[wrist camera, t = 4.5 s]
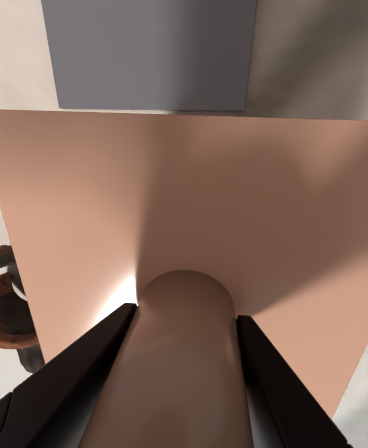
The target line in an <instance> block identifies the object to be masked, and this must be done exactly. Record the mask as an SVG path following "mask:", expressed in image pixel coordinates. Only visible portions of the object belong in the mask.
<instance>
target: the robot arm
mask: <svg viewBox="0 0 368 448" xmlns="http://www.w3.org/2000/svg"><path fill="white" fill-rule="evenodd" d="M137 307H138V306H137V304H136V303H130V302H125V303H123V304H122V305H120V306H119V307H118V308H116V309H115V310H114V311H113V312H111V313H110V314H109V315H108V316H106V317H105V318H104V319H102V320H101V321H100V322H99V323H97V324H96V325H95V326H94V327H92V328H91V329H90V330H88V331H87V332H86V333H85V334H83V335H82V336H81V337H79V338H78V339H77V340H76V341H74V342H73V343H72V344H71V345H69V346H68V347H67V348H65V349H64V350H63V351H62V352H60V353H59V354H58V355H57V356H55V357H54V358H53V359H51V360H50V361H49V362H48V363H46V364H45V365H44V366H42V367H41V368H40V369H39V370H37V371H36V372H35V373H34V374H32V375H31V376H30V377H28V378H27V379H26V380H25V381H23V382H22V383H21V384H20V385H18V386H17V387H16V388H14V390H13V392H9V393H8V394H7V395H5V396H4V397H3V398H1V399H0V448H77V447H78V445H79V443H80V440H81V438H82V436H83V433H84V431H85V429H86V426H87V424H88V422H89V419H90V417H91V414H92V412H93V410H94V407H95V405H96V403H97V400H98V398H99V396H100V393H101V391H102V389H103V386H104V384H105V382H106V379H107V377H108V375H109V372H110V370H111V368H112V365H113V363H114V361H115V358H116V356H117V354H118V351H119V349H120V347H121V344H122V342H123V340H124V337H125V335H126V333H127V330H128V328H129V326H130V323H131V321H132V319H133V316H134V314H135V312H136V309H137ZM236 322H237V329H238V336H239V343H240V350H241V357H242V365H243V372H244V379H245V386H246V393H247V400H248V407H249V415H250V422H251V429H252V436H253V443H254V448H353V446H352V445H351V444H348V442H347V439H346V438H345V436H344V435H343V434H342V433H341V431H340V430H339V429H338V427H337V426H336V425H335V424H334V422H333V421H332V420H331V418H330V417H329V416H328V415H327V413H326V412H325V411H324V409H323V408H322V407H321V405H320V404H319V403H318V402H317V400H316V399H315V398H314V396H313V395H312V394H311V393H310V391H309V390H308V389H307V387H306V386H305V385H304V384H303V382H302V381H301V380H300V378H299V377H298V376H297V375H296V373H295V372H294V371H293V369H292V368H291V367H290V366H289V364H288V363H287V362H286V360H285V359H284V358H283V357H282V355H281V354H280V353H279V351H278V350H277V349H276V348H275V346H274V345H273V344H272V342H271V341H270V340H269V339H268V337H267V336H266V335H265V333H264V332H263V331H262V330H261V328H260V327H259V326H258V324H257V323H256V322H255V321H254V319H253V318H252V317H251V316H249V315H241V314H239V315H237V318H236Z"/></svg>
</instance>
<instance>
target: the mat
mask: <svg viewBox="0 0 368 448" xmlns="http://www.w3.org/2000/svg"><path fill="white" fill-rule="evenodd" d="M256 2H257V0H41V3H42V9H43V15H44V20H45V26H46V32H47V38H48V44H49V50H50V56H51V62H52V68H53V74H54V80H55V86H56V92H57V98H58V104H59V108H62V109H105V110H185V111H244V110H245V101H246V92H247V83H248V74H249V65H250V56H251V47H252V38H253V29H254V20H255V11H256Z"/></svg>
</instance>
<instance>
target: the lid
mask: <svg viewBox="0 0 368 448" xmlns="http://www.w3.org/2000/svg"><path fill="white" fill-rule="evenodd" d="M0 208H1V211H2V215H3V218H4V222H5V225H6V228H7V232H8V235H9V239H10V242H11V246H12V249H13V253H14V256H15V260H16V263H17V267H18V270H19V274H20V277H21V281H22V284H23V287H24V291H25V294H26V298H27V301H28V305H29V308H30V312H31V315H32V319H33V322H34V326H35V329H36V333H37V336H38V340H39V343H40V346H41V350H42V353H43V357H44V360H45V364H46V363H48V362H49V361H50V360H51V359H53V358H54V357H55V356H57V355H58V354H59V353H60V352H62V351H63V350H64V349H65V348H67V347H68V346H69V345H71V344H72V343H73V342H74V341H76V340H77V339H78V338H79V337H81V336H82V335H83V334H85V333H86V332H87V331H88V330H90V329H91V328H92V327H94V326H95V325H96V324H97V323H99V322H100V321H101V320H102V319H104V318H105V317H106V316H108V315H109V314H110V313H111V312H113V311H114V310H115V309H116V308H118V307H119V306H120V305H122V304H123V303H125V302H130V303H136V304H137V306H138V307H137V309H136V312H135V314H134V316H133V319H132V321H131V323H130V326H129V328H128V330H127V333H126V335H125V337H124V340H123V342H122V344H121V347H120V349H119V351H118V354H117V356H116V358H115V361H114V363H113V365H112V368H111V370H110V372H109V375H108V377H107V379H106V382H105V384H104V386H103V389H102V391H101V393H100V396H99V398H98V400H97V403H96V405H95V407H94V410H93V412H92V414H91V417H90V419H89V422H88V424H87V426H86V429H85V431H84V433H83V436H82V438H81V440H80V443H79V445H78V447H77V448H254V443H253V436H252V429H251V422H250V415H249V407H248V400H247V393H246V386H245V379H244V372H243V365H242V357H241V350H240V343H239V336H238V329H237V322H236V318H237V315H239V314H241V315H249V316H251V317H252V318H253V319H254V321H255V322H256V323H257V324H258V326H259V327H260V328H261V330H262V331H263V332H264V333H265V335H266V336H267V337H268V339H269V340H270V341H271V342H272V344H273V345H274V346H275V348H276V349H277V350H278V351H279V353H280V354H281V355H282V357H283V358H284V359H285V360H286V362H287V363H288V364H289V366H290V367H291V368H292V369H293V371H294V372H295V373H296V375H297V376H298V377H299V378H300V380H301V381H302V382H303V384H304V385H305V386H306V387H307V389H308V390H309V391H310V393H311V394H312V395H313V396H314V398H315V399H316V400H317V402H318V403H319V404H320V405H321V407H322V408H323V409H324V411H325V412H326V413H327V415H328V416H329V417H330V418H331V419H332V417H333V415H334V413H335V411H336V409H337V407H338V405H339V403H340V401H341V399H342V396H343V394H344V392H345V390H346V388H347V386H348V384H349V382H350V380H351V378H352V376H353V373H354V371H355V369H356V367H357V365H358V363H359V361H360V359H361V357H362V355H363V353H364V350H365V348H366V346H367V344H368V121H365V120H331V119H298V118H265V117H231V116H198V115H165V114H131V113H98V112H65V111H31V110H0Z"/></svg>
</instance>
